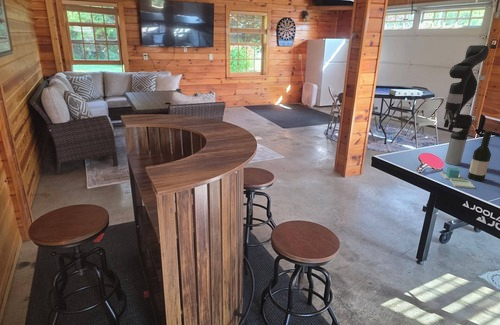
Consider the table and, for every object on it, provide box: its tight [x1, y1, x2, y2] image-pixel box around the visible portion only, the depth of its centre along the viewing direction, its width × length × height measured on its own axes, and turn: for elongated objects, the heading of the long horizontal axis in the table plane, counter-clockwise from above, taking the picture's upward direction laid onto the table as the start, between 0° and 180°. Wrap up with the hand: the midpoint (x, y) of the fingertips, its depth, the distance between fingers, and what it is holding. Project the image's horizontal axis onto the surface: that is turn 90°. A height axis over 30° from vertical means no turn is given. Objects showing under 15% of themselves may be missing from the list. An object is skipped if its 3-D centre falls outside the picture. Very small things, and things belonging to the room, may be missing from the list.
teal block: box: [446, 166, 461, 179], centre depth 196 cm, size 5×5×5 cm
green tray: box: [449, 179, 476, 190], centre depth 186 cm, size 10×10×1 cm
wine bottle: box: [467, 129, 492, 182], centre depth 189 cm, size 8×8×30 cm
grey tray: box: [440, 171, 466, 181], centre depth 196 cm, size 10×10×1 cm
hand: (447, 129), depth 194 cm, fingers open, 8 cm apart
